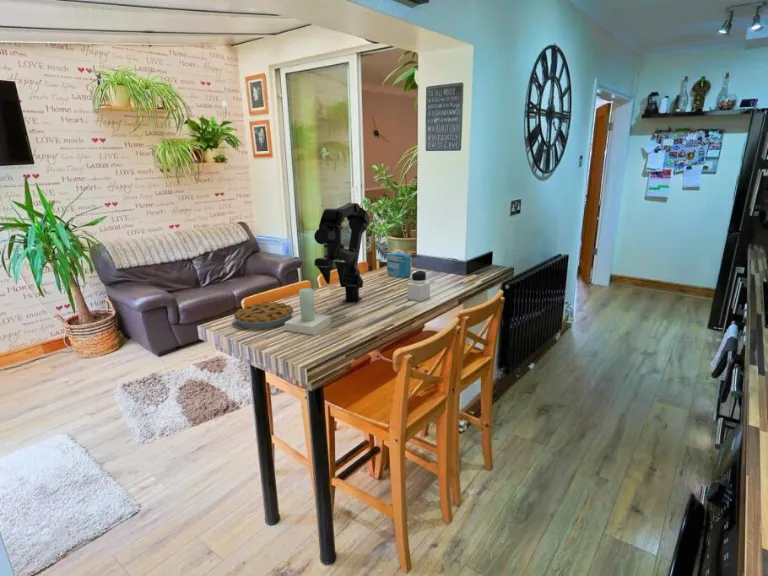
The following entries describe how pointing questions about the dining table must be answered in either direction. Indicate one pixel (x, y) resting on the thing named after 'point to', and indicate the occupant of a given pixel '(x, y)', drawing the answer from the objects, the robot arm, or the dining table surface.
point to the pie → (263, 315)
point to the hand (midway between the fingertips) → (334, 281)
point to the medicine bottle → (418, 287)
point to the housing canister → (307, 304)
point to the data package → (398, 265)
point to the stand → (308, 324)
